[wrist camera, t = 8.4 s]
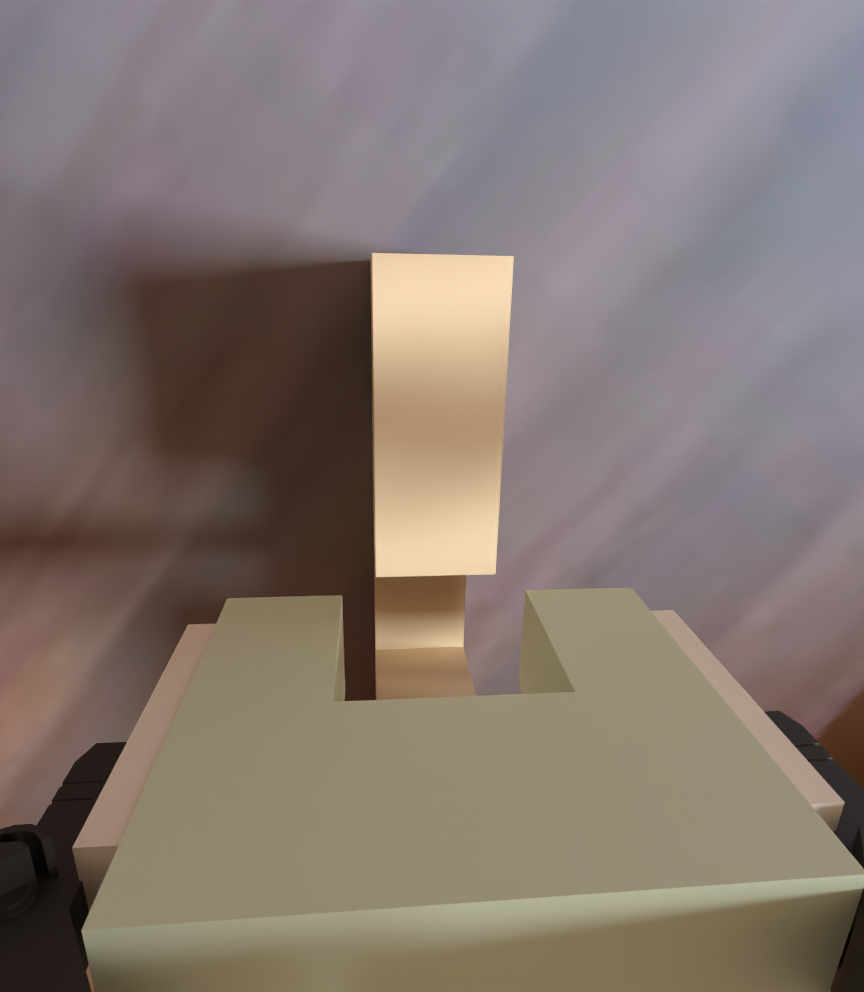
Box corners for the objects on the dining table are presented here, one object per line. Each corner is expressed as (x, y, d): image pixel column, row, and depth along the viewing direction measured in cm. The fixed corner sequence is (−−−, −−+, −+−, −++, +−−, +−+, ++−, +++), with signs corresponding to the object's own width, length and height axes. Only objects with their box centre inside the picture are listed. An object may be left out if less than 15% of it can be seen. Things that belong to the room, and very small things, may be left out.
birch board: (443, 735, 29) (474, 929, 20) (376, 738, 28) (379, 936, 20) (457, 261, 22) (513, 256, 14) (370, 259, 22) (372, 252, 13)
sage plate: (236, 693, 18) (114, 1077, 9) (226, 598, 17) (80, 930, 8) (618, 678, 19) (822, 1012, 10) (631, 587, 18) (867, 874, 9)
